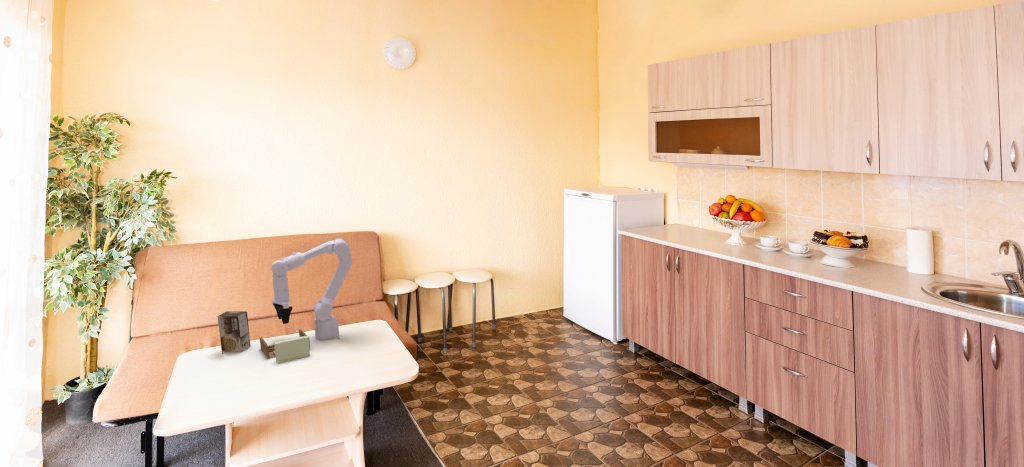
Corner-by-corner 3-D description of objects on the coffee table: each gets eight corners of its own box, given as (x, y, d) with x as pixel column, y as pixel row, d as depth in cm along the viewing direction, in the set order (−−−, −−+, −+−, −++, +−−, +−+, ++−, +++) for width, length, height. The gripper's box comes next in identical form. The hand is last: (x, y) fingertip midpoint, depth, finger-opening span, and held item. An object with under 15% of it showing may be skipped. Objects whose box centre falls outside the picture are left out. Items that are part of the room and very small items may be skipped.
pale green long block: (308, 354, 209) (307, 335, 208) (310, 356, 208) (308, 337, 206) (276, 362, 202) (274, 342, 201) (277, 364, 201) (275, 343, 200)
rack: (301, 342, 225) (300, 329, 224) (310, 351, 214) (309, 337, 213) (261, 351, 215) (259, 337, 214) (267, 361, 205) (266, 346, 204)
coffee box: (251, 348, 219) (248, 311, 216) (242, 354, 212) (238, 316, 210) (230, 348, 220) (226, 310, 217) (221, 354, 213) (216, 315, 211)
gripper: (266, 287, 222) (269, 318, 224) (274, 294, 210) (277, 327, 212) (284, 284, 226) (287, 315, 228) (293, 291, 214) (295, 324, 217)
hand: (283, 321), depth 221 cm, fingers open, 7 cm apart
